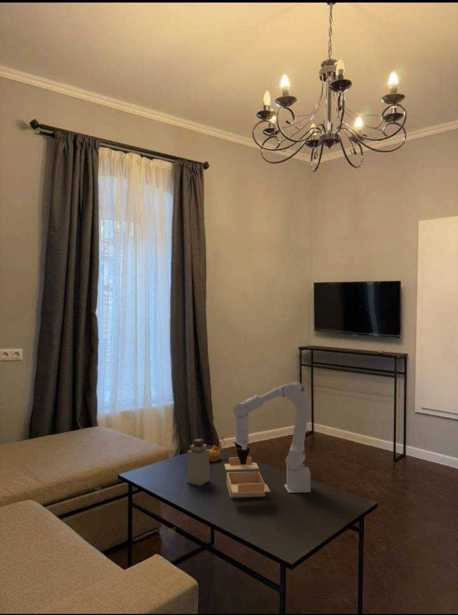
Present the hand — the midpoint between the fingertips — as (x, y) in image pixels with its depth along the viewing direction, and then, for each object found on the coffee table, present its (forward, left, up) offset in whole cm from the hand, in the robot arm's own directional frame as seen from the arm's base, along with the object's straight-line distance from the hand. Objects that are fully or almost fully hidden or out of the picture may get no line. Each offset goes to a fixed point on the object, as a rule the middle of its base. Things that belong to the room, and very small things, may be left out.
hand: (241, 461), depth 192 cm
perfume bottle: (+19, -1, -9) cm, 21 cm away
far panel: (0, -2, -3) cm, 4 cm away
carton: (0, +10, -8) cm, 13 cm away
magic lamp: (+12, -29, -9) cm, 32 cm away
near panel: (0, +23, -3) cm, 23 cm away
